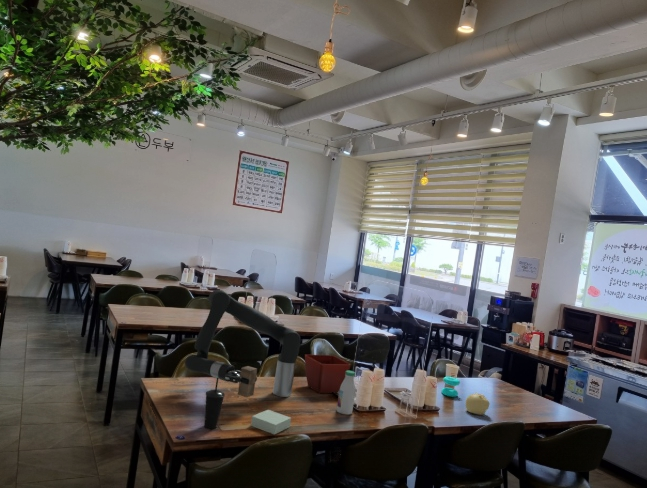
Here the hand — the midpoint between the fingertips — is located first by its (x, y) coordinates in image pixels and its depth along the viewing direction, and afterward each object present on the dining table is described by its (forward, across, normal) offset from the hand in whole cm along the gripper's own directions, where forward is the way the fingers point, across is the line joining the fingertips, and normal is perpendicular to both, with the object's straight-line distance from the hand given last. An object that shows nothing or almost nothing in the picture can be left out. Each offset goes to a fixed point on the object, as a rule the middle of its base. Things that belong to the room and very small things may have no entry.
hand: (252, 380), depth 226 cm
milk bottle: (+29, +40, +16) cm, 52 cm away
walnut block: (-3, 0, +7) cm, 7 cm away
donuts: (+60, +124, +18) cm, 139 cm away
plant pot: (+5, +63, +16) cm, 65 cm away
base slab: (+15, -4, +15) cm, 22 cm away
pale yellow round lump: (+80, +102, +17) cm, 131 cm away
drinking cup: (-1, -24, +14) cm, 28 cm away
